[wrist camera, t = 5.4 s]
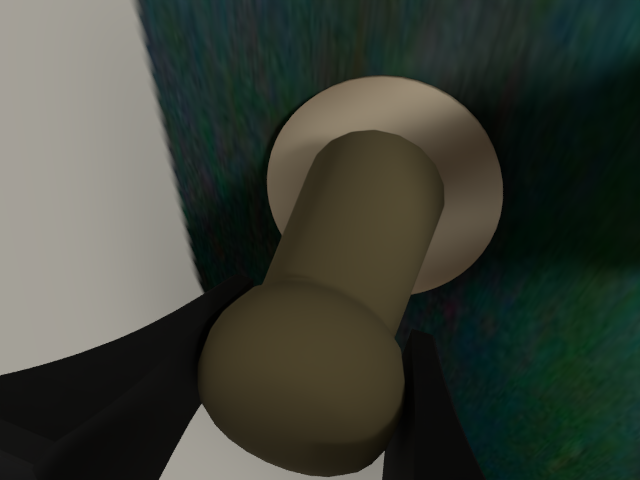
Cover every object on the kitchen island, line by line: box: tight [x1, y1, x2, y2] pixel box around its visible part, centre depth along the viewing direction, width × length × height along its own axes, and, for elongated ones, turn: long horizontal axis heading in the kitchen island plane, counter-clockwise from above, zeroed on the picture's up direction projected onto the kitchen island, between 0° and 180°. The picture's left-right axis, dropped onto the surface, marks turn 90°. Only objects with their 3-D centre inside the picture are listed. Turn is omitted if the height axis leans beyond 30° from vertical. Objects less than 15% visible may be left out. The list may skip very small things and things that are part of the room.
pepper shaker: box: [198, 130, 445, 477], centre depth 13 cm, size 6×6×11 cm
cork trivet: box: [267, 75, 503, 294], centre depth 21 cm, size 12×12×1 cm
